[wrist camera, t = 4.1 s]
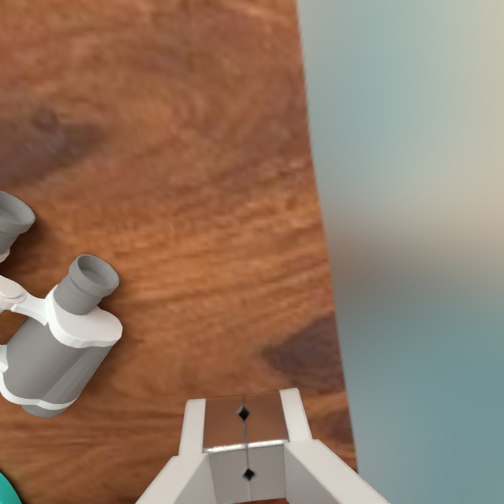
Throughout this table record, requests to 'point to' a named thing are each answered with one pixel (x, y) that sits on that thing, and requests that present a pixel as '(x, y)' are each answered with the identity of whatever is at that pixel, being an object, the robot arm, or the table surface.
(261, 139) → the table surface
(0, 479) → the handheld game console
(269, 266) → the table surface
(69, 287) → the binoculars
